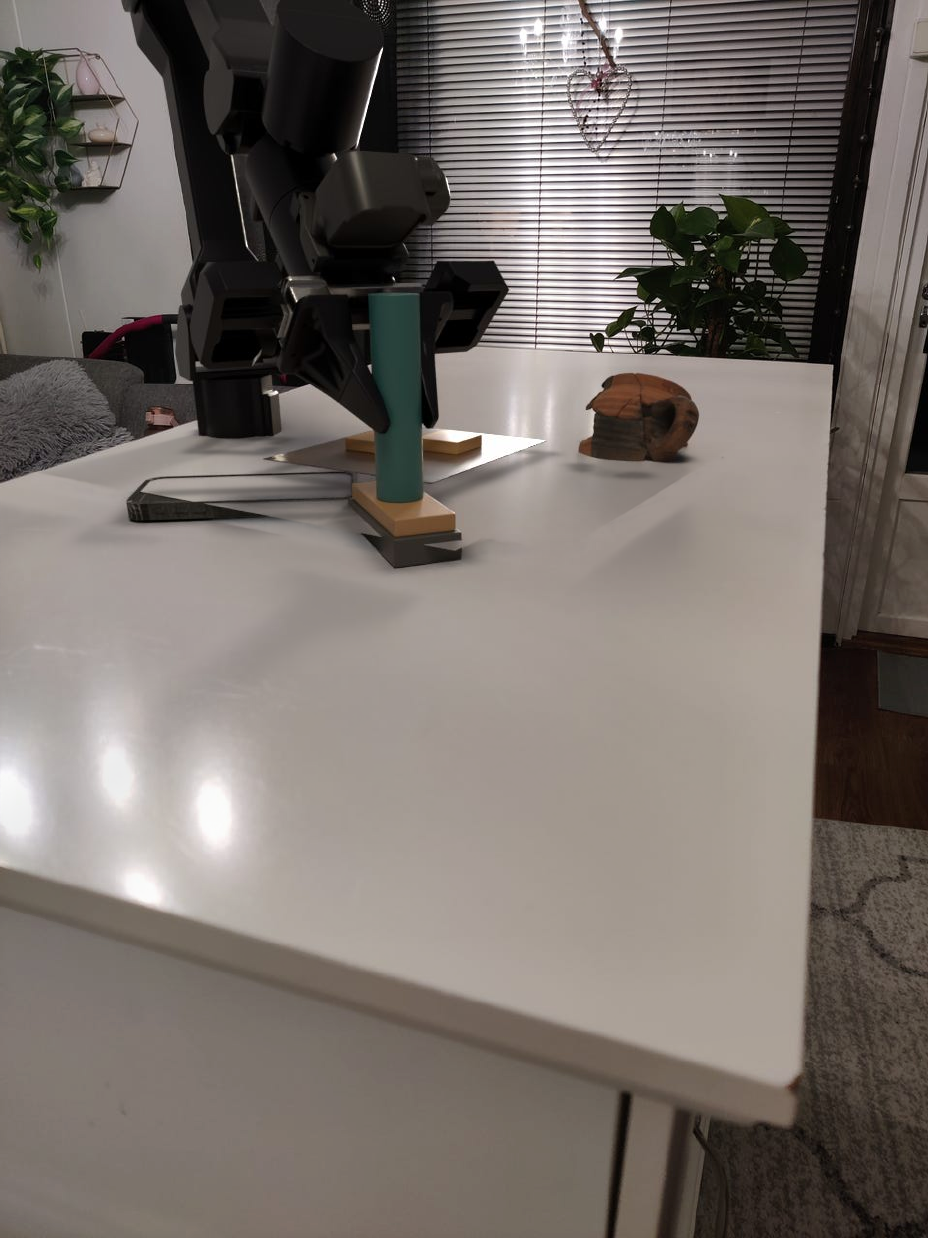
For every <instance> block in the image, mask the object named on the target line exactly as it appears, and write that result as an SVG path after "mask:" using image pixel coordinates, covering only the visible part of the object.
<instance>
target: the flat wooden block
mask: <svg viewBox="0 0 928 1238" xmlns="http://www.w3.org/2000/svg"><path fill="white" fill-rule="evenodd" d="M369 431H370V432H368V431H365V432H366V433H364V432H361V433H362V434H360V433H357V434H358V435H356V434H353V435H354V436H353V435H350V436H351V437H349V436H346V437H347V438H345V437H344V438H345V446H346V450H352V451H360V452H367V453H375V445H374V431H372V430H369Z"/></svg>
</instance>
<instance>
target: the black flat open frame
mask: <svg viewBox="0 0 928 1238" xmlns="http://www.w3.org/2000/svg"><path fill="white" fill-rule="evenodd" d="M320 474H321V475H322V474H323V475H324V474H346V475H351V476H352V483H358V473H354V472H349V471H340V470H333V471H305V472H301V471H300V472H299V471H298V472H273V473H272V472H271V473H270V472H269V473H268V472H267V473H241V474H240V473H239V474H238V473H237V474H236V473H235V474H233V473H232V474H206V475H205V474H204V475H203V474H202V475H201V474H200V475H172V476H171V475H170V476H169V475H167V476H156V477H150V478H147V479H145V480H144V481H143V482H142V483H141V484H140V485H139V486H138V487H137V488H136V489H135V491H133V493H131V494H130V496H129V497H128V498H127V499H126V501H125V502H126V510H127V516H128V519H130V520H132V521H163V520H164V521H165V520H166V521H167V520H170V521H171V520H196V519H197V520H199V519H200V520H201V519H222V518H223V519H225V518H227V519H228V518H251V517H252V518H253V517H254V518H255V517H256V518H257V517H269V515H267V514H261V513H257V512H252V511H251V512H250V511H246V510H240V509H234V508H229V507H224V506H220V505H219V506H218V505H215V504H228V503H229V504H230V503H261V502H262V503H264V502H285V501H286V502H287V501H288V502H290V501H293V502H294V501H320V500H324V501H325V500H344V499H348V498H349V497H352V493H350V494H347V495H342V496H341V495H340V496H328V497H327V496H320V497H292V498H263V499H262V498H260V499H234V500H233V499H230V500H229V499H228V500H202V501H201V500H200V501H199V500H198V501H192V500H188V499H181V498H176V497H170V496H165V495H161V494H160V495H159V494H155V493H150V492H145V491H143V490H144V488H145V487H147V485H148V484H149V483H151V482H152V481H153V482H154V481H157V480H163V479H164V480H165V479H191V478H194V479H195V478H222V477H223V478H226V477H228V478H229V477H256V476H259V477H260V476H261V477H262V476H287V475H288V476H289V475H290V476H291V475H294V476H295V475H320ZM213 504H214V505H213Z"/></svg>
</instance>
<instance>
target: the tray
mask: <svg viewBox="0 0 928 1238" xmlns="http://www.w3.org/2000/svg"><path fill="white" fill-rule="evenodd" d="M441 430H446V431H455V432H464V433H473V434H482V446H481V447H478V448H475V449H472V450H469V451H466V452H463V453H460V454H457V455H455V454H447V453H439V452H431V451H423V484H431V485H433V484H434V483H435V484H436V483H437V482H441V481H443V480H446V479H449V478H451V477H454V476H456V475H460V474H461V473H464V472H468V471H469V470H472V469H475V468H478V467H480V466H483V465H486V464H488V463H491V462H494V461H497V460H499V459H502V458H505V457H507V456H510V455H513V454H515V453H518V452H521V451H524V450H527V449H529V448H533V447H535V446H537V445H541V444H543V443H545V442H547V440H545V439H544V440H543V439H536V438H526V437H517V436H509V435H499V434H488V433H481V432H480V433H479V432H471V431H463V430H454V429H453V430H452V429H444V428H443V429H442V428H435V427H434V428H431V429H427V428H426V427H425V426H422V436H424V435H427V434H431V433H434V432H437V431H441ZM370 431H374V430H373V429H371V430H369V431H364V432H360V433H357V434H353V435H349V436H345V437H342V438H337V439H334V440H329V441H327V442H323V443H318V444H314V445H311V446H307V447H303V448H298V449H296V450H291V451H287V452H284V453H280V454H276V455H272V456H268V457H265V458H264V457H263V460H267V461H272V462H280V463H285V464H292V465H293V464H294V465H300V466H305V467H314V468H318V469H319V468H320V469H321V468H322V469H326V470H333V471H349V472H354V473H356V474H361V475H370V476H375V477H376V469H375V453H367V452H360V451H352V450H346V446H345V438H347V437H351V436H354V435H358V434H362V433H366V432H370Z"/></svg>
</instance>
